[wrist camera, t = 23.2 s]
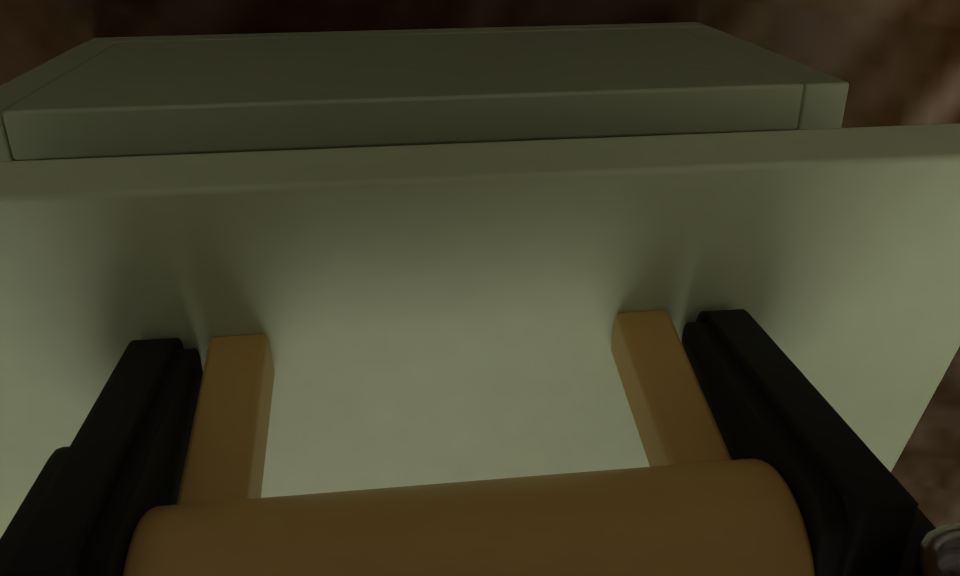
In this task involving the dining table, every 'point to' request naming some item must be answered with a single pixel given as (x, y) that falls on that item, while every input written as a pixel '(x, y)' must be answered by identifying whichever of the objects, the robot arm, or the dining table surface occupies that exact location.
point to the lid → (478, 339)
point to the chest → (405, 90)
